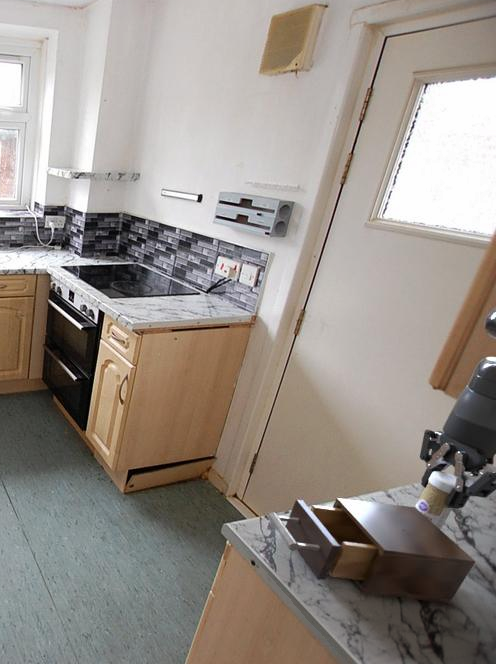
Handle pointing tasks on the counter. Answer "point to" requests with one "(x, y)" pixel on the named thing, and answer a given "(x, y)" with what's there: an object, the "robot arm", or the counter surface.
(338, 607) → the counter surface
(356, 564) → the drawer
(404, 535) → the cabinet
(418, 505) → the sprinkles bottle
